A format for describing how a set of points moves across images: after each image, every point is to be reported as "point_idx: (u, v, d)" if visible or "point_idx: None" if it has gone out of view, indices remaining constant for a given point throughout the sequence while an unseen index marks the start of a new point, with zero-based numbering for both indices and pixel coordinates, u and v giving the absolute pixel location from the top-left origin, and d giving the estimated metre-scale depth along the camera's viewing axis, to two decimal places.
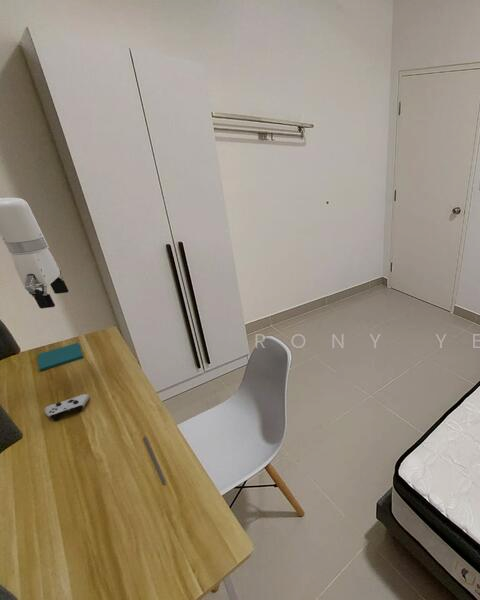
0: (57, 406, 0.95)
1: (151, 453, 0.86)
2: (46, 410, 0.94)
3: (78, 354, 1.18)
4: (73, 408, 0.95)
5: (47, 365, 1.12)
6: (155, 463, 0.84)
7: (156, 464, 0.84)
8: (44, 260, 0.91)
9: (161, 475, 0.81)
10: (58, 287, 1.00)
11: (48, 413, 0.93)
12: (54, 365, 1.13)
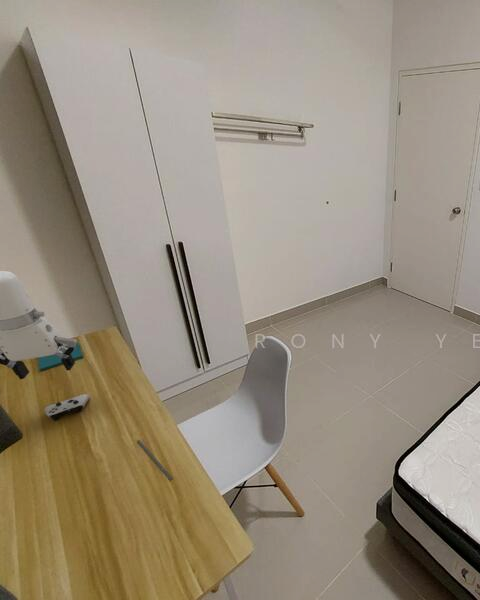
0: (57, 406, 0.95)
1: (149, 454, 0.86)
2: (46, 410, 0.94)
3: (78, 354, 1.18)
4: (73, 408, 0.95)
5: (47, 365, 1.12)
6: (156, 462, 0.84)
7: (157, 463, 0.84)
8: (13, 339, 0.82)
9: (166, 472, 0.82)
10: None
11: (48, 413, 0.93)
12: (54, 365, 1.13)
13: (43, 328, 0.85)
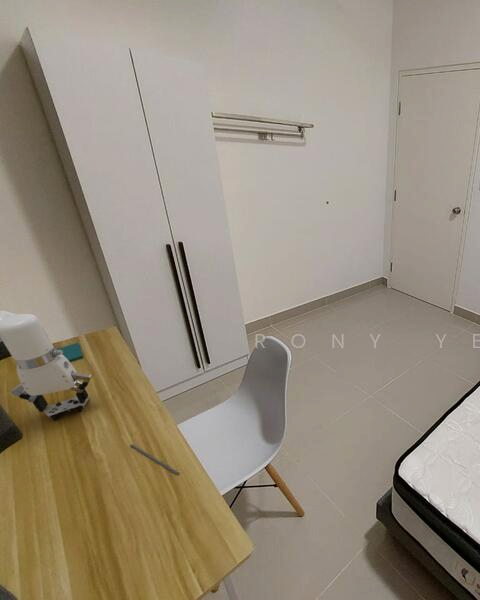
0: (57, 406, 0.95)
1: (148, 455, 0.86)
2: (46, 410, 0.94)
3: (78, 354, 1.18)
4: (73, 408, 0.95)
5: None
6: (158, 461, 0.84)
7: (159, 462, 0.84)
8: (33, 376, 0.87)
9: (170, 468, 0.83)
10: None
11: (48, 413, 0.93)
12: None
13: (61, 365, 0.90)
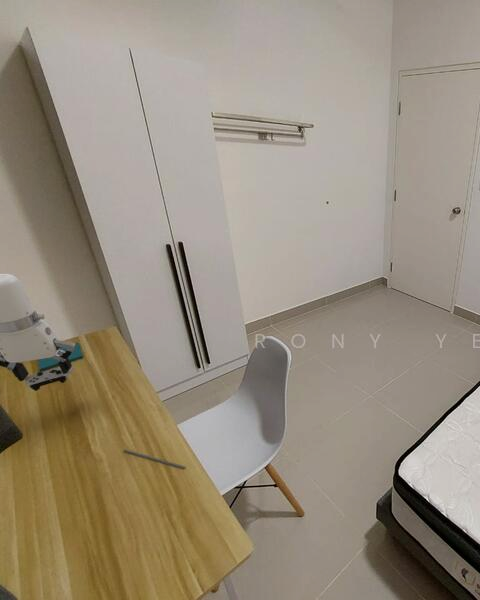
0: (38, 376, 0.90)
1: (146, 456, 0.85)
2: (26, 380, 0.89)
3: (78, 354, 1.18)
4: (55, 378, 0.90)
5: (47, 365, 1.12)
6: (159, 460, 0.85)
7: (160, 461, 0.85)
8: (12, 341, 0.82)
9: (175, 464, 0.84)
10: None
11: (28, 382, 0.88)
12: (54, 365, 1.13)
13: (42, 331, 0.85)
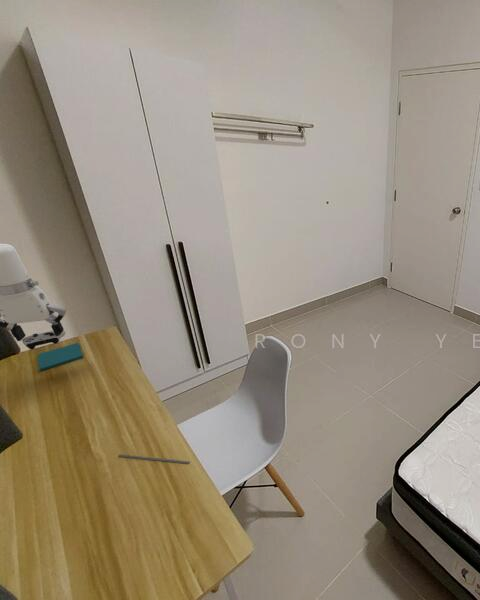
0: (34, 337, 1.02)
1: (145, 457, 0.85)
2: (23, 340, 1.01)
3: (78, 354, 1.18)
4: (48, 339, 1.02)
5: (47, 365, 1.12)
6: (160, 459, 0.85)
7: (161, 459, 0.85)
8: (10, 304, 0.94)
9: (178, 460, 0.85)
10: None
11: (25, 342, 1.00)
12: (54, 365, 1.13)
13: (37, 295, 0.97)
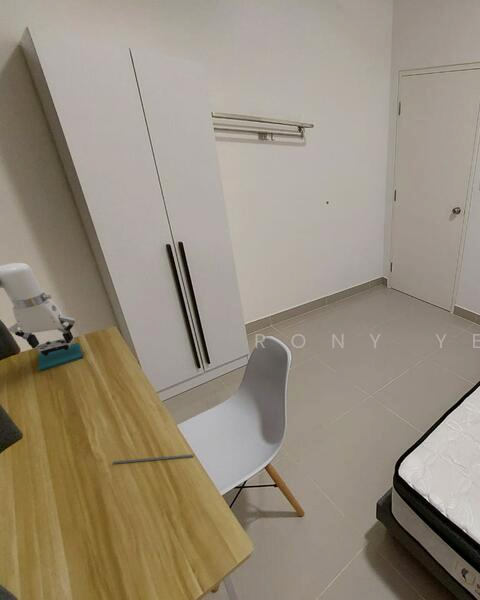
0: (47, 344, 1.14)
1: (144, 459, 0.84)
2: (38, 347, 1.13)
3: (78, 354, 1.18)
4: (60, 346, 1.14)
5: (47, 365, 1.12)
6: (161, 458, 0.85)
7: (162, 458, 0.85)
8: (26, 316, 1.06)
9: (181, 456, 0.86)
10: None
11: (39, 349, 1.12)
12: (54, 365, 1.13)
13: (50, 308, 1.09)
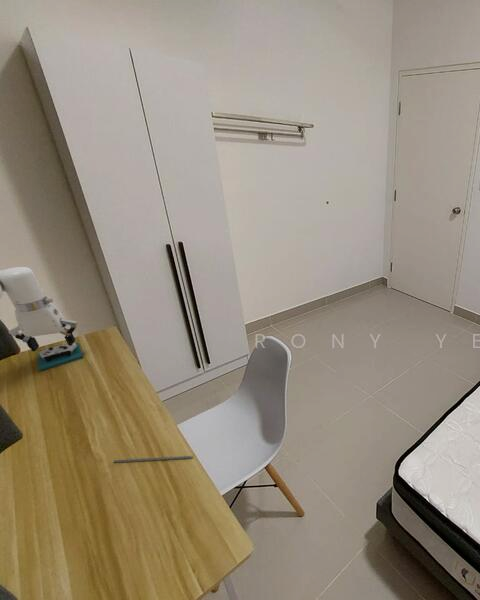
0: (50, 350, 1.15)
1: (144, 459, 0.84)
2: (40, 353, 1.14)
3: (78, 354, 1.18)
4: (63, 352, 1.15)
5: (47, 365, 1.12)
6: (161, 458, 0.85)
7: (162, 458, 0.85)
8: (28, 319, 1.07)
9: (180, 457, 0.86)
10: None
11: (42, 355, 1.13)
12: (54, 365, 1.13)
13: (51, 311, 1.10)
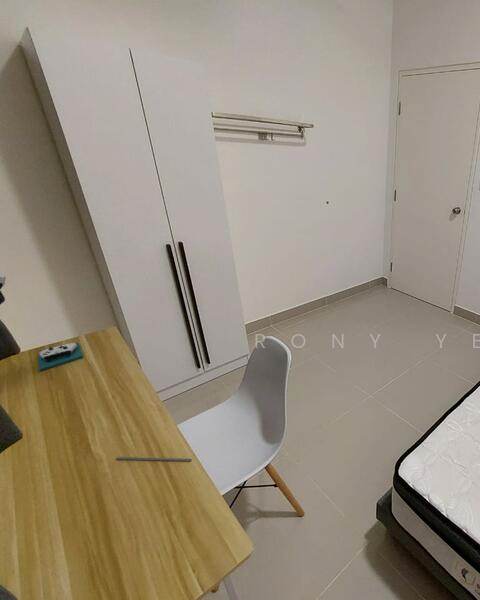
0: (50, 350, 1.15)
1: (145, 458, 0.85)
2: (40, 353, 1.14)
3: (78, 354, 1.18)
4: (63, 352, 1.15)
5: (47, 365, 1.12)
6: (160, 459, 0.85)
7: (162, 459, 0.85)
8: None
9: (179, 459, 0.85)
10: None
11: (42, 355, 1.13)
12: (54, 365, 1.13)
13: None
